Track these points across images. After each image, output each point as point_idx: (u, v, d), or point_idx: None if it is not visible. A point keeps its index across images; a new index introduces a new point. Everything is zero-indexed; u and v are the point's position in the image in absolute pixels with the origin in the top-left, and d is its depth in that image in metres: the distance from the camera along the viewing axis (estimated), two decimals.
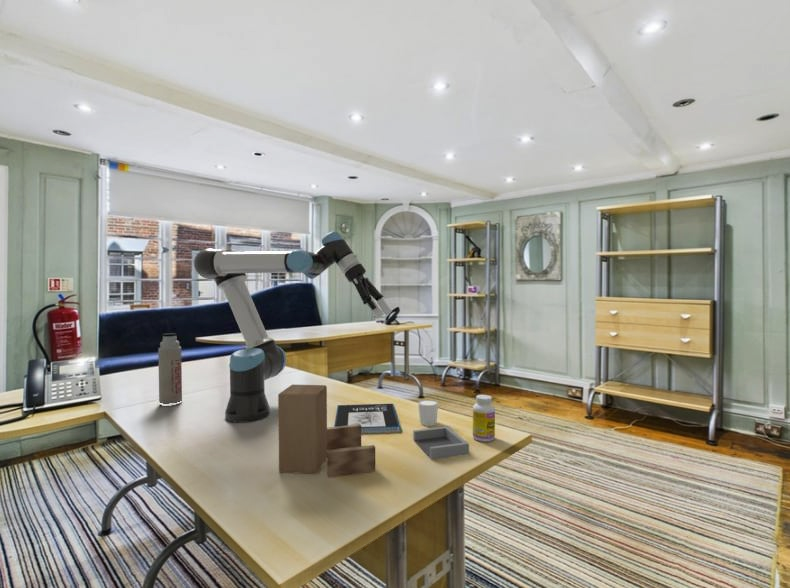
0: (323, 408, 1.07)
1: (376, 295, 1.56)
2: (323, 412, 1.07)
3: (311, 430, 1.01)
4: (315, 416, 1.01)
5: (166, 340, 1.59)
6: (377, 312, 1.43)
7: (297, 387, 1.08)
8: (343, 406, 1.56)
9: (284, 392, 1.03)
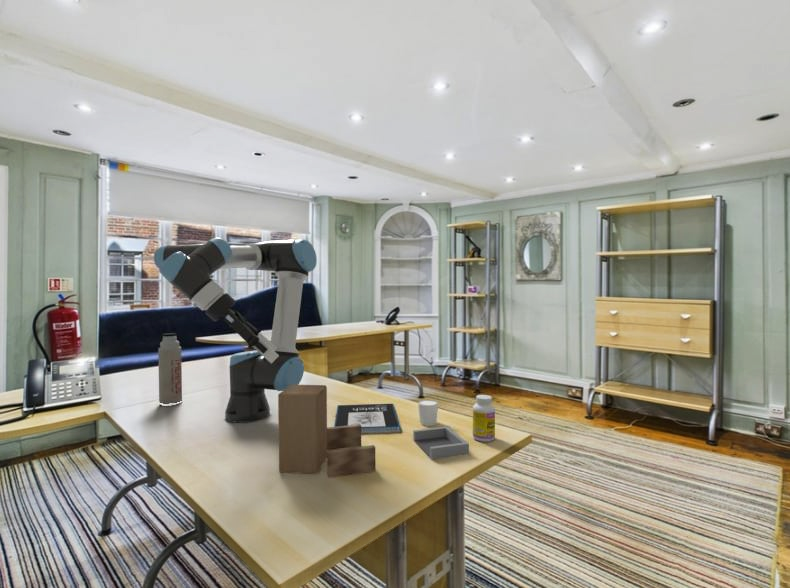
0: (323, 408, 1.07)
1: None
2: (323, 412, 1.07)
3: (311, 430, 1.01)
4: (315, 416, 1.01)
5: (166, 340, 1.59)
6: None
7: (297, 387, 1.08)
8: (343, 406, 1.56)
9: (284, 392, 1.03)
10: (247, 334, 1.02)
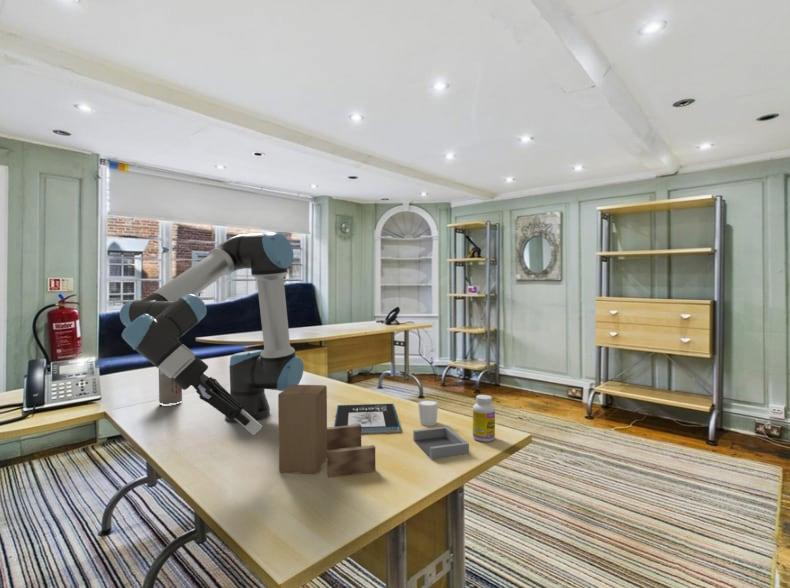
0: (323, 408, 1.07)
1: None
2: (323, 412, 1.07)
3: (311, 430, 1.01)
4: (315, 416, 1.01)
5: None
6: None
7: (297, 387, 1.08)
8: (343, 406, 1.56)
9: (284, 392, 1.03)
10: (228, 409, 0.97)
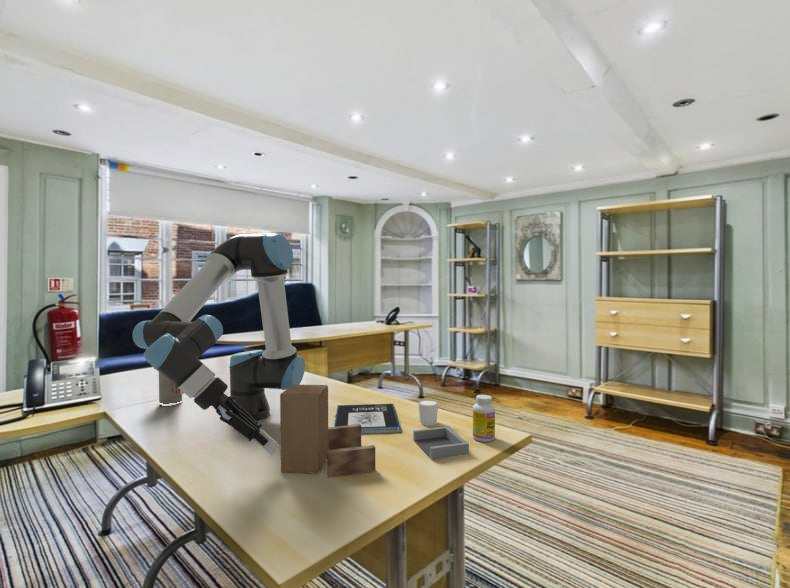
0: (325, 408, 1.07)
1: None
2: (325, 412, 1.07)
3: (313, 430, 1.01)
4: (317, 416, 1.01)
5: None
6: None
7: (298, 387, 1.08)
8: (343, 406, 1.56)
9: (286, 392, 1.03)
10: (247, 430, 0.97)
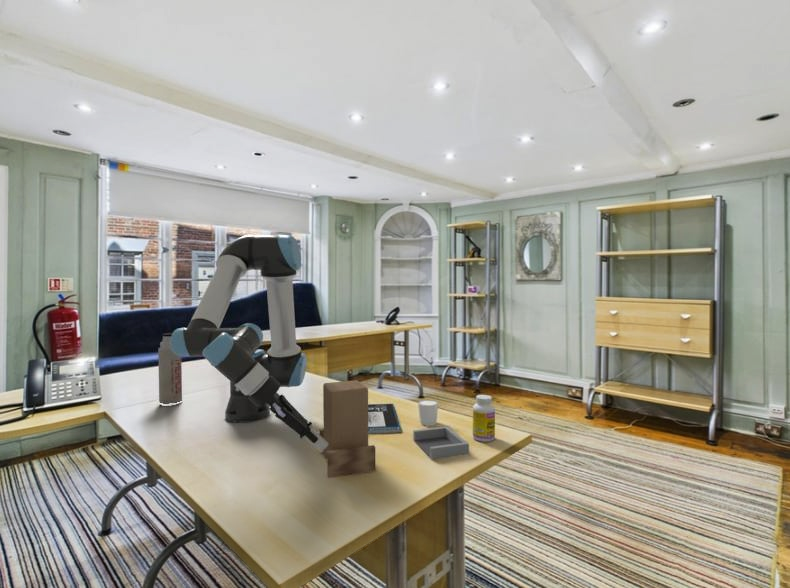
0: None
1: None
2: None
3: (363, 422, 1.07)
4: (367, 408, 1.07)
5: (166, 340, 1.59)
6: None
7: (336, 384, 1.11)
8: None
9: (334, 389, 1.05)
10: (300, 428, 1.00)
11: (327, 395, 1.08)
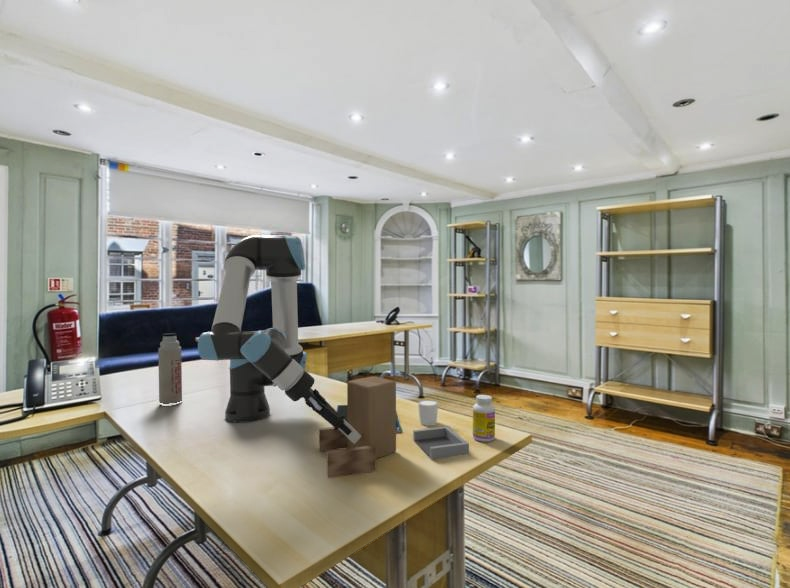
0: None
1: None
2: None
3: (393, 414, 1.14)
4: (395, 400, 1.15)
5: (166, 340, 1.59)
6: None
7: (362, 381, 1.15)
8: (343, 406, 1.55)
9: (369, 385, 1.10)
10: (335, 420, 1.04)
11: (358, 392, 1.11)
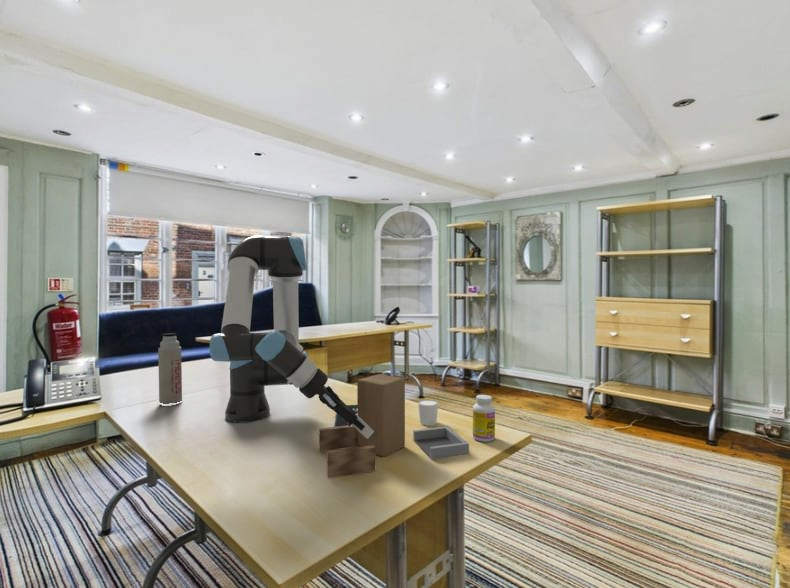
0: None
1: None
2: None
3: (402, 409, 1.18)
4: (404, 396, 1.18)
5: (166, 340, 1.59)
6: None
7: (372, 379, 1.17)
8: None
9: (382, 383, 1.12)
10: (349, 416, 1.06)
11: (371, 389, 1.13)
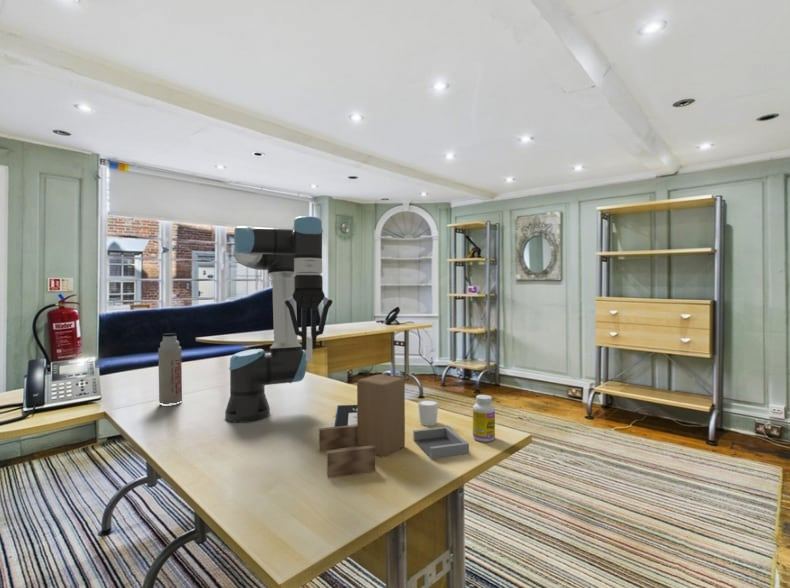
0: None
1: (311, 326, 1.11)
2: None
3: (402, 409, 1.18)
4: (404, 397, 1.18)
5: (166, 340, 1.59)
6: (306, 354, 1.11)
7: (372, 379, 1.17)
8: (343, 406, 1.55)
9: (382, 383, 1.12)
10: None
11: (371, 390, 1.13)
